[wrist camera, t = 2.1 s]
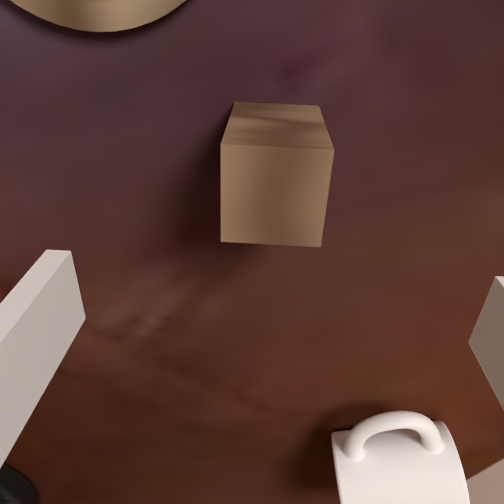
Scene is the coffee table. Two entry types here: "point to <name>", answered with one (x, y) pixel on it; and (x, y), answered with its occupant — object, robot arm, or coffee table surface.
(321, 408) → the coffee table surface
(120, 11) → the plate
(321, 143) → the block
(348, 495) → the mug
